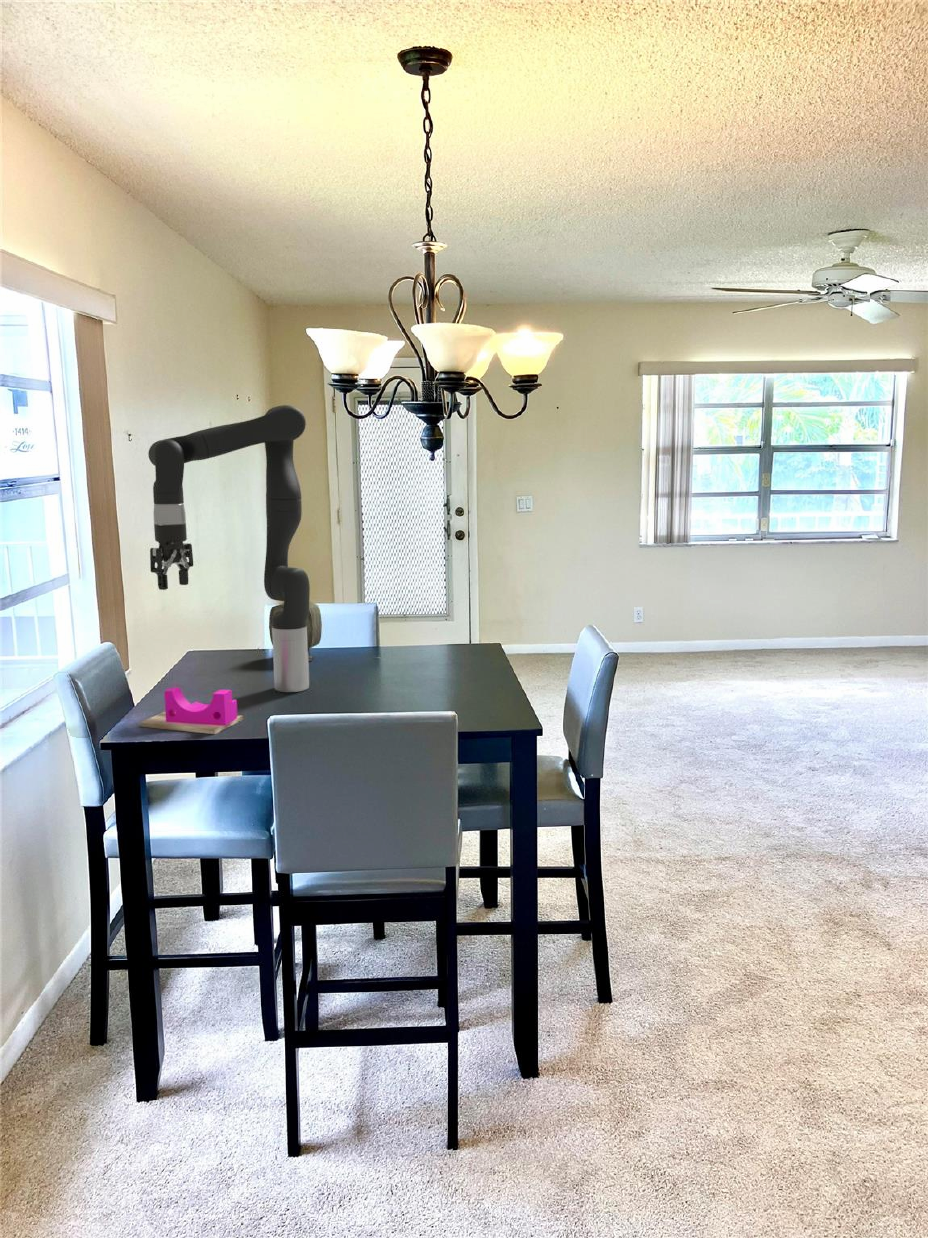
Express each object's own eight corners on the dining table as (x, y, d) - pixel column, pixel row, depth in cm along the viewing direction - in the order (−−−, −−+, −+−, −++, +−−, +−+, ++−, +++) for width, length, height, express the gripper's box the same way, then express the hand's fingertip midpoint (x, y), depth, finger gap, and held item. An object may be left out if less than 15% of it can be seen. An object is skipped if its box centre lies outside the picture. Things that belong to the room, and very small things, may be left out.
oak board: (171, 712, 218) (171, 708, 218) (243, 719, 213) (242, 715, 212) (140, 726, 207) (140, 722, 207) (214, 734, 201) (214, 730, 201)
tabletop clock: (270, 660, 276) (267, 580, 271) (282, 654, 284) (279, 577, 280) (313, 662, 272) (311, 582, 268) (324, 656, 281) (322, 578, 277)
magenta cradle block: (237, 718, 210) (236, 687, 209) (225, 725, 204) (224, 694, 203) (179, 714, 213) (177, 684, 212) (166, 722, 207) (164, 691, 206)
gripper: (174, 520, 226) (177, 582, 229) (138, 523, 213) (142, 590, 216) (199, 520, 224) (203, 584, 227) (165, 524, 211) (169, 591, 214)
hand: (173, 587), depth 221 cm, fingers open, 8 cm apart
